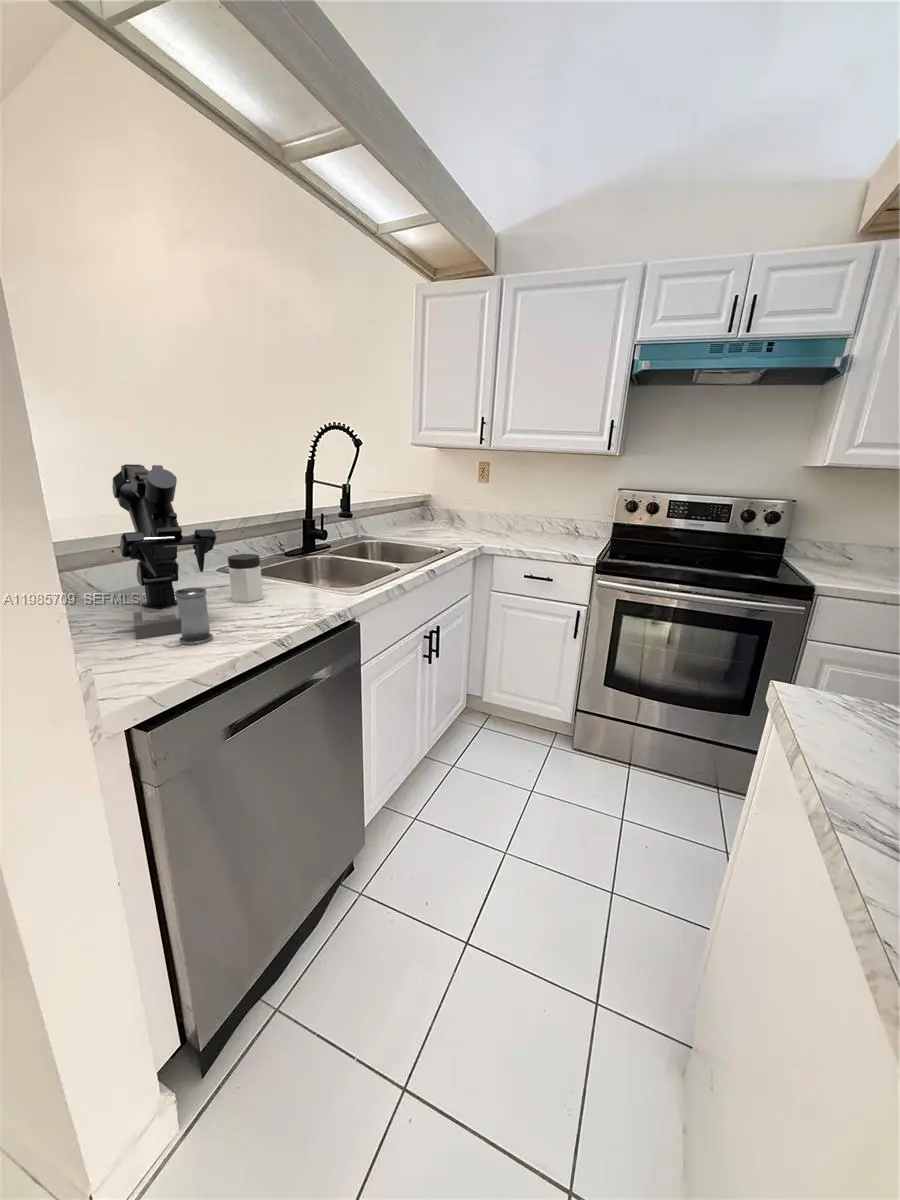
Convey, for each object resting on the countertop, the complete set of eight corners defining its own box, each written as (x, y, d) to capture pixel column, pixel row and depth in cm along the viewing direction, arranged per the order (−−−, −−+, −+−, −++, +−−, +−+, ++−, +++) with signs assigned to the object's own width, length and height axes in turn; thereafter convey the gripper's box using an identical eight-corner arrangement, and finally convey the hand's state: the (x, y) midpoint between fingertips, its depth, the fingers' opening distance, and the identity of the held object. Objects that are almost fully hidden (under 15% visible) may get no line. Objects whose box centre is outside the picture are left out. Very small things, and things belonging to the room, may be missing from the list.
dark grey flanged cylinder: (173, 642, 106) (166, 593, 103) (197, 633, 111) (191, 586, 108) (196, 647, 103) (189, 596, 100) (219, 637, 109) (214, 589, 106)
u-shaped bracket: (135, 624, 116) (132, 606, 115) (195, 616, 122) (193, 599, 121) (136, 639, 107) (133, 620, 106) (201, 629, 114) (198, 611, 112)
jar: (264, 601, 137) (261, 558, 133) (232, 604, 133) (228, 560, 130) (261, 593, 144) (257, 552, 141) (231, 596, 141) (226, 554, 138)
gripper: (198, 535, 126) (216, 586, 122) (111, 540, 114) (128, 597, 109) (206, 507, 118) (226, 561, 114) (114, 509, 106) (132, 570, 102)
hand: (180, 573), depth 110 cm, fingers open, 9 cm apart
